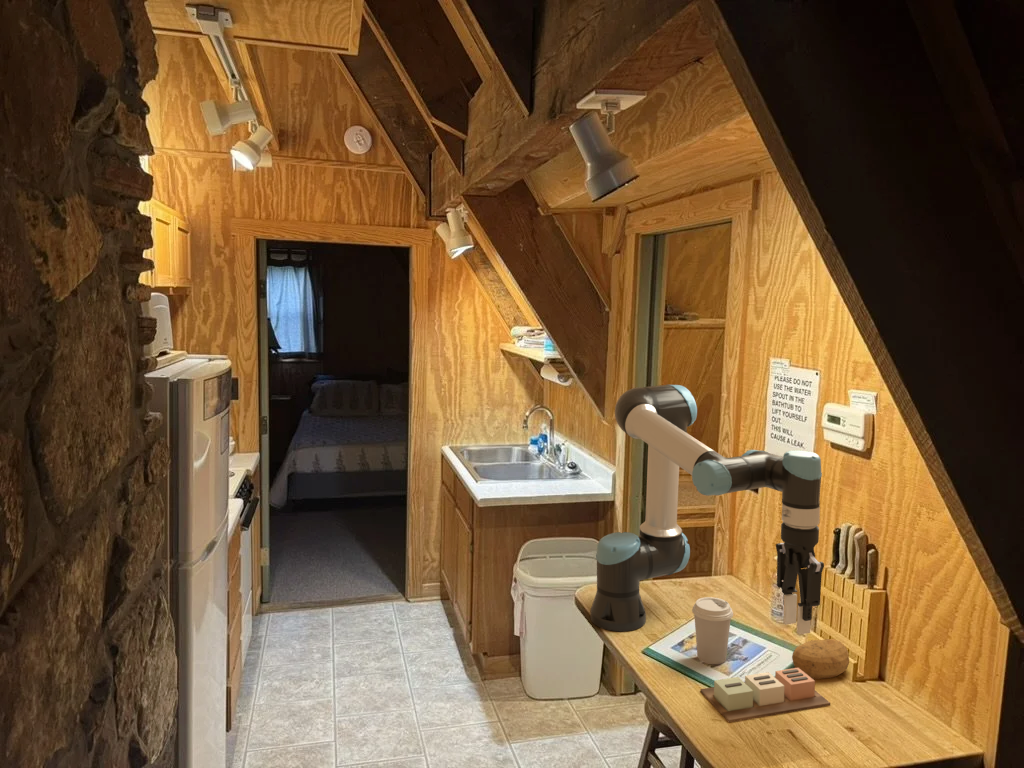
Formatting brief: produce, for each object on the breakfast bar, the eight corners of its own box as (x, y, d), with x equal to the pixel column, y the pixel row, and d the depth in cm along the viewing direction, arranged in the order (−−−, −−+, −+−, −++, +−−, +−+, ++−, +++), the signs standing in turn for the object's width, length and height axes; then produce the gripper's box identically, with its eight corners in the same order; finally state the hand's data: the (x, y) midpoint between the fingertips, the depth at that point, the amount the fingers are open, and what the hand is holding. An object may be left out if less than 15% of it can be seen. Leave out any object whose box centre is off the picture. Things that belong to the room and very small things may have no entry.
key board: (700, 697, 158) (700, 689, 157) (795, 682, 163) (795, 674, 163) (728, 729, 146) (728, 720, 146) (830, 711, 152) (830, 702, 151)
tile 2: (744, 692, 157) (745, 674, 156) (768, 689, 158) (768, 670, 157) (759, 707, 151) (760, 688, 150) (783, 703, 152) (784, 684, 152)
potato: (779, 671, 168) (780, 639, 167) (828, 661, 172) (829, 630, 171) (808, 692, 159) (809, 658, 158) (859, 681, 163) (860, 648, 162)
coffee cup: (734, 674, 167) (735, 614, 165) (692, 671, 169) (693, 611, 167) (730, 654, 176) (731, 597, 174) (690, 651, 178) (691, 594, 176)
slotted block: (714, 697, 155) (714, 679, 154) (737, 693, 156) (738, 675, 156) (728, 712, 149) (728, 693, 149) (752, 708, 151) (753, 689, 150)
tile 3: (774, 688, 158) (775, 669, 158) (797, 684, 160) (798, 666, 159) (790, 702, 153) (791, 683, 152) (814, 698, 154) (815, 679, 154)
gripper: (761, 513, 159) (758, 613, 162) (810, 538, 142) (806, 648, 145) (790, 510, 161) (787, 609, 164) (842, 535, 144) (838, 644, 147)
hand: (796, 627), depth 154 cm, fingers open, 4 cm apart
